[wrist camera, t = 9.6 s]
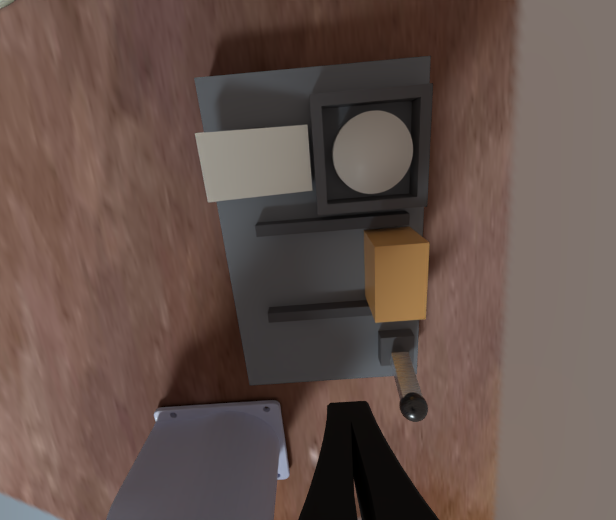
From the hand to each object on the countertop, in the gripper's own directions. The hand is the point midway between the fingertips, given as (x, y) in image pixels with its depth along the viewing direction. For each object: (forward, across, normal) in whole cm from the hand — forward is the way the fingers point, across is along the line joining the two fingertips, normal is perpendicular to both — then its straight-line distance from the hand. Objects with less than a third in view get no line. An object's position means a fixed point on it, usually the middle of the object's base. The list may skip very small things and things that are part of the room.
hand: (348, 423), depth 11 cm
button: (+8, -2, -9) cm, 12 cm away
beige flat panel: (+8, +3, -8) cm, 12 cm away
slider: (+8, -3, -3) cm, 9 cm away
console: (+10, 0, -4) cm, 11 cm away
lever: (+7, -4, +3) cm, 9 cm away
